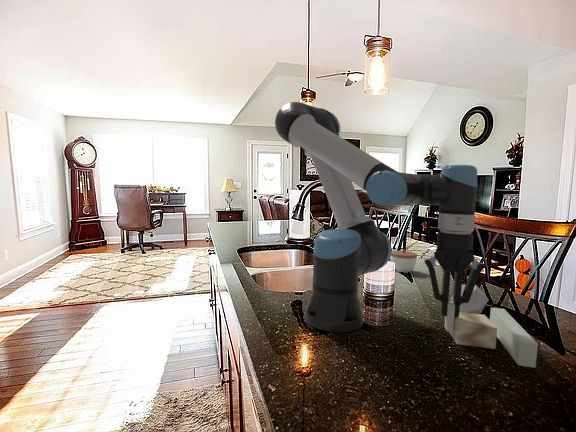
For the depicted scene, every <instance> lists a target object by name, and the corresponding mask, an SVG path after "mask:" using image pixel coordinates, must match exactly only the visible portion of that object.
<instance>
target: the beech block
mask: <svg viewBox="0 0 576 432" xmlns="http://www.w3.org/2000/svg"><path fill="white" fill-rule="evenodd" d="M449 334H450V336H451V337H452V339H453V340H454V342H455V344H456V345H460V346H469V347H470V346H471V347H476V348H485V349H493V350H496V346H497V338H498V337H497V327H496V326H495V325H494V324H493V323H492V322H491V321H490V318H488V316H487V315H486V314H481V313H480V314H473V313H464V312H460V311H459V317H458V318H457V317H454V327H453V332H449Z"/></svg>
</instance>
